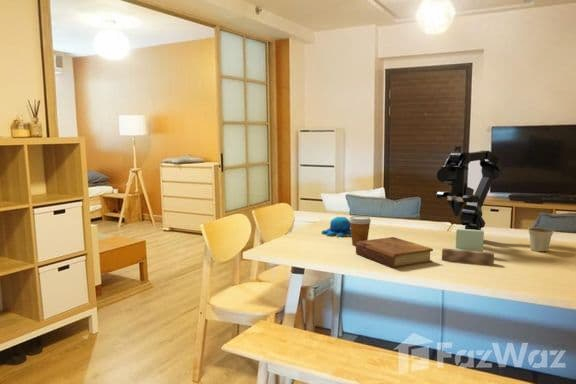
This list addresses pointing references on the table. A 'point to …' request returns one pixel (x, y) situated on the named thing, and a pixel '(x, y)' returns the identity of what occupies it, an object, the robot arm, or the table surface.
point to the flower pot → (540, 238)
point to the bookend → (469, 240)
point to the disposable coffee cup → (359, 228)
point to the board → (468, 256)
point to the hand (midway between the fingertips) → (456, 216)
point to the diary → (394, 252)
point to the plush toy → (338, 227)
